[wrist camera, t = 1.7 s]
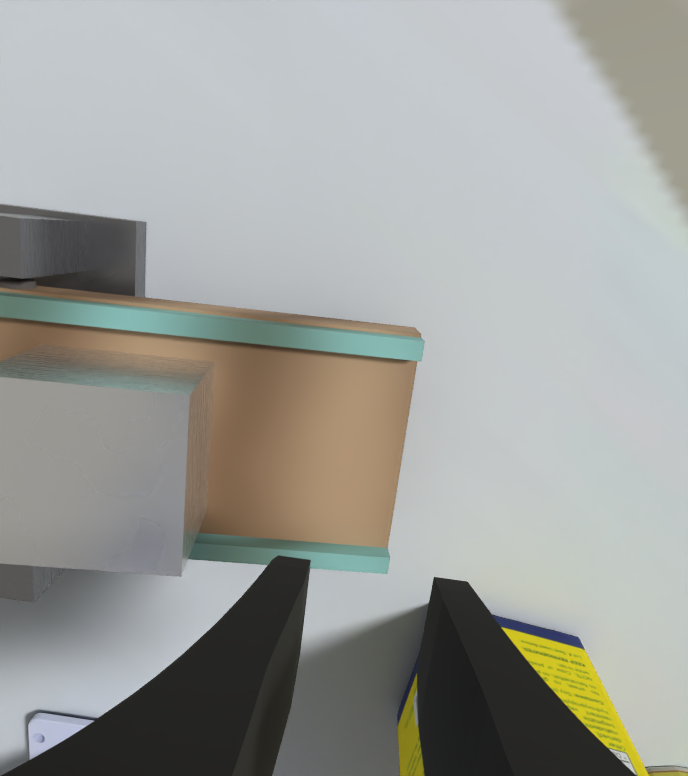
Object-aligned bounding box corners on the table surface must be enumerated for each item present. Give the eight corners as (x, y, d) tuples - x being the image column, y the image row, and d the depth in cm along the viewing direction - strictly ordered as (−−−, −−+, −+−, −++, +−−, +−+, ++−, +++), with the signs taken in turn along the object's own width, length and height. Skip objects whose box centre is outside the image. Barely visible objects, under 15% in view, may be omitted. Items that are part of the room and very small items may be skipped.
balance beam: (415, 321, 18) (425, 331, 16) (379, 551, 20) (386, 581, 18) (-332, 237, 16) (-410, 238, 14) (-279, 499, 18) (-341, 528, 17)
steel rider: (206, 511, 18) (181, 576, 15) (46, 498, 18) (-17, 561, 14) (214, 361, 17) (189, 395, 13) (42, 343, 16) (-30, 373, 13)
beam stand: (146, 222, 19) (82, 218, 15) (139, 545, 22) (85, 614, 18) (1, 204, 19) (-101, 195, 15) (16, 528, 22) (-65, 593, 18)
